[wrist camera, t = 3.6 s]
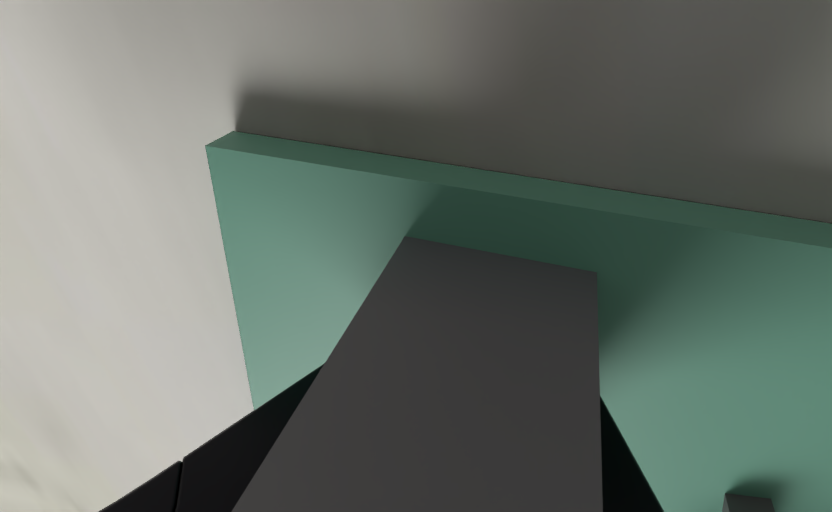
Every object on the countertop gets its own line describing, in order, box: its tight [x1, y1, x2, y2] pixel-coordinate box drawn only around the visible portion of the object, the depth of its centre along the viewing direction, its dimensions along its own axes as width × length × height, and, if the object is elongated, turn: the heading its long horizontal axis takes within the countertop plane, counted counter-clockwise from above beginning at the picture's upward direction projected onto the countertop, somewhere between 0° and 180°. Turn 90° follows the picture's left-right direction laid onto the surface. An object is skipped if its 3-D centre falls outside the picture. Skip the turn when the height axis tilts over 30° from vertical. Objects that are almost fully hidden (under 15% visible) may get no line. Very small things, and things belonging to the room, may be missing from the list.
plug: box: [232, 236, 603, 512], centre depth 7 cm, size 3×5×5 cm, turn 177°
